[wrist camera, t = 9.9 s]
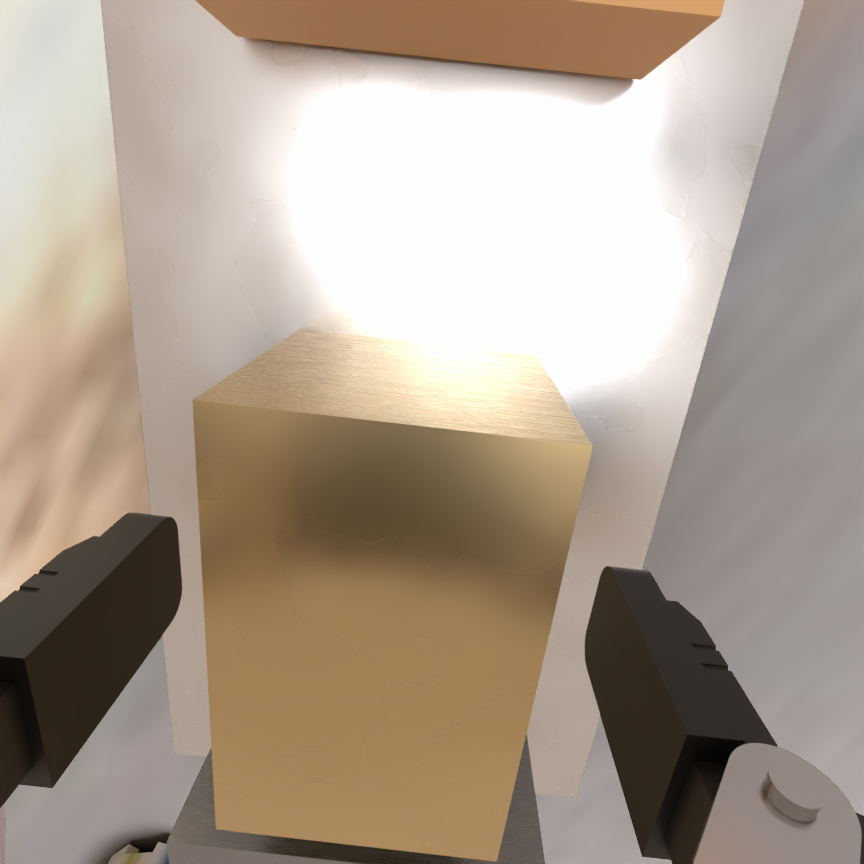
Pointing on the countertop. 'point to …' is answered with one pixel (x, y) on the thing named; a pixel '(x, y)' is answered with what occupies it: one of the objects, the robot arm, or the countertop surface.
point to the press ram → (486, 29)
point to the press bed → (431, 284)
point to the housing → (380, 585)
